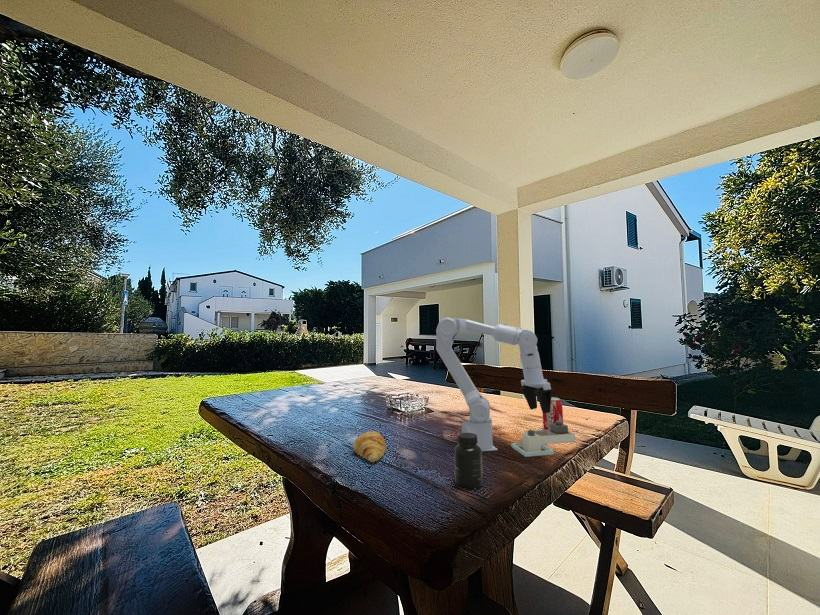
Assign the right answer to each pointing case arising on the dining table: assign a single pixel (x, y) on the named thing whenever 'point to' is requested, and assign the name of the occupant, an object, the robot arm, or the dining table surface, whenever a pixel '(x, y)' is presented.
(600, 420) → the dining table surface
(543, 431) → the power strip
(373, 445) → the croissant
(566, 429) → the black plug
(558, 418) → the soda can
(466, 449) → the supplement bottle
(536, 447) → the white plug
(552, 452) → the tray
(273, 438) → the dining table surface
